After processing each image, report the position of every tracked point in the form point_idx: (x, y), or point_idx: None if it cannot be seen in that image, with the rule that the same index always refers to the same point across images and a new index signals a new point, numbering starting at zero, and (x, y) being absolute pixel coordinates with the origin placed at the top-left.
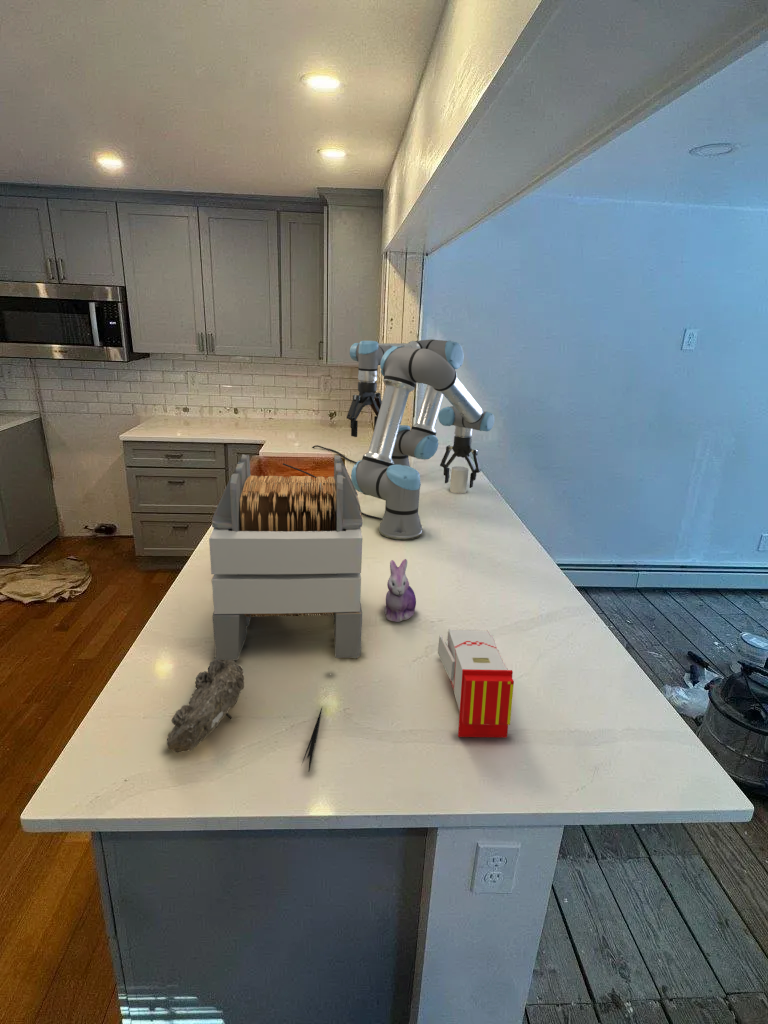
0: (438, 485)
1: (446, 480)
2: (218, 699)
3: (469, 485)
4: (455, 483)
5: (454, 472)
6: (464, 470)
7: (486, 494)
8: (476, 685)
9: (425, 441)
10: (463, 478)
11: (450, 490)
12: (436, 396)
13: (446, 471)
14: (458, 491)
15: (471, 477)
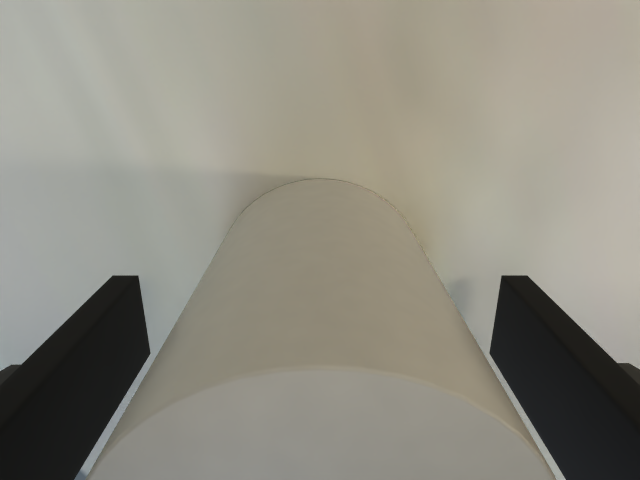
0: None
1: (522, 297)
2: None
3: (123, 293)
4: (331, 218)
5: (404, 327)
6: (121, 477)
7: (3, 337)
8: None
9: None
10: (185, 313)
11: (400, 215)
12: None
13: (638, 405)
14: (278, 193)
15: (16, 380)
